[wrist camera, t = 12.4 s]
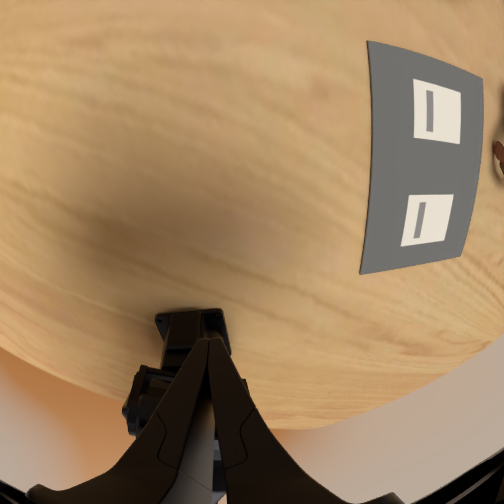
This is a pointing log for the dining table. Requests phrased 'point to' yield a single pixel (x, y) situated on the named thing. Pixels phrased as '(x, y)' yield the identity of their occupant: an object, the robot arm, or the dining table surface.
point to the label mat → (420, 158)
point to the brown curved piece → (499, 154)
